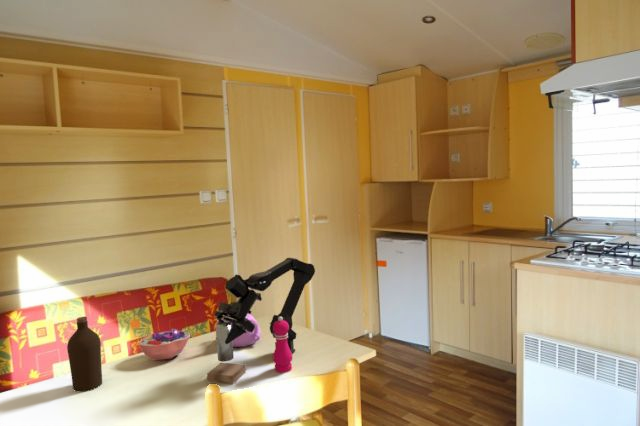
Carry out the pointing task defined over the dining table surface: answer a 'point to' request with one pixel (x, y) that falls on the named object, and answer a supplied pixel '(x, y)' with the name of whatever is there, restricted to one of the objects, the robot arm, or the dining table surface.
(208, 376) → the walnut box
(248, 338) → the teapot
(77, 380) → the olive oil
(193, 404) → the dining table surface
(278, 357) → the pepper mill
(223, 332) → the tea tin
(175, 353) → the cell model
